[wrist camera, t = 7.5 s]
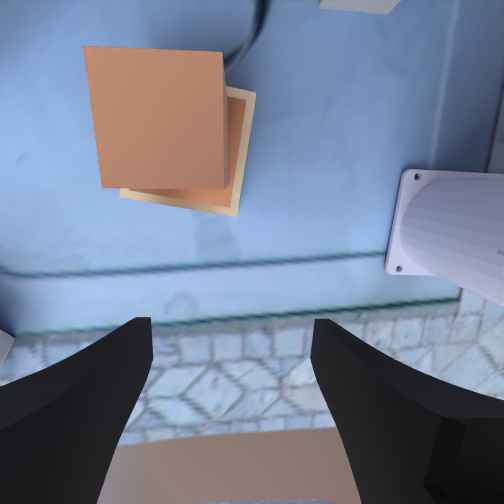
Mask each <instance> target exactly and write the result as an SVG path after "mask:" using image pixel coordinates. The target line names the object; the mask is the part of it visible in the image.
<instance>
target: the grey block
mask: <svg viewBox="0 0 504 504" xmlns="http://www.w3.org/2000/svg"><path fill="white" fill-rule="evenodd" d="M400 1H401V0H319V6H318V8H324V9H334V10H344V11H355V12H365V13H375V14H385V15H388V14H389V13H390V12H391V10H392V9H393V8H394V7H395V6H396V5H397V4H398V3H399V2H400Z"/></svg>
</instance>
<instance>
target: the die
mask: <svg viewBox="0 0 504 504" xmlns="http://www.w3.org/2000/svg"><path fill="white" fill-rule="evenodd" d="M14 340H15V338H14V337H12V336H10V335H9V334H7V333H5V332H4V331H2V330H0V369H1V367H2V365H3V363H4V361H5V359H6V357H7V355H8V353H9V351H10V349H11V347H12V344H13V342H14Z"/></svg>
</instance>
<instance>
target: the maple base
mask: <svg viewBox="0 0 504 504" xmlns="http://www.w3.org/2000/svg"><path fill="white" fill-rule="evenodd" d="M226 91H227V101H228V186H227V187H226V188H225V189H224V190H218V189H129V188H120V197H121V198H127V199H133V200H139V201H145V202H151V203H156V204H162V205H168V206H174V207H180V208H186V209H192V210H198V211H204V212H210V213H216V214H222V215H228V216H234V217H237V212H238V206H239V200H240V194H241V188H242V181H243V175H244V169H245V163H246V157H247V151H248V145H249V139H250V132H251V126H252V120H253V114H254V108H255V102H256V96H257V93H256V92H251V91H247V90H242V89H238V88H233V87H229V86H226Z"/></svg>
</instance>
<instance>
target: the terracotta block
mask: <svg viewBox="0 0 504 504" xmlns="http://www.w3.org/2000/svg"><path fill="white" fill-rule="evenodd" d="M83 48H84V55H85V63H86V70H87V78H88V86H89V93H90V101H91V108H92V116H93V123H94V131H95V138H96V146H97V153H98V161H99V168H100V176H101V183H102V188H129V189H218V190H224V189H225V188H226V187H227V186H228V101H227V91H226V82H225V73H224V63H223V54H222V52H214V51H190V50H166V49H143V48H119V47H95V46H83Z"/></svg>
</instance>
